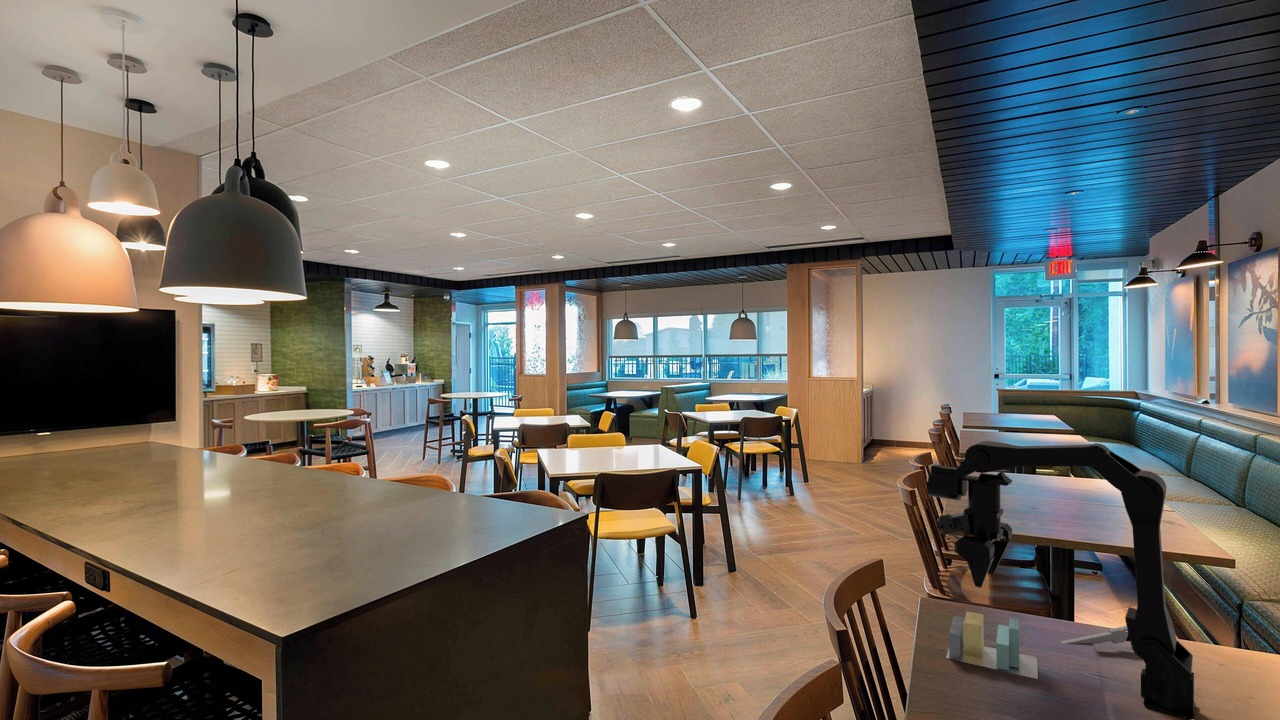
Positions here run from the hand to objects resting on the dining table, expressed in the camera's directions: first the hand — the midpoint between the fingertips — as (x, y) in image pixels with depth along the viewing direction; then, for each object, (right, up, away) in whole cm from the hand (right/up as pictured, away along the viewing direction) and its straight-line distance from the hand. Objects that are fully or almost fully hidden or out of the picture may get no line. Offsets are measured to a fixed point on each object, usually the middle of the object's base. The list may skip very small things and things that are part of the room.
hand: (984, 580), depth 124 cm
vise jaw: (+1, -13, -7) cm, 15 cm away
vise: (-2, -15, -5) cm, 16 cm away
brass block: (-4, -13, -3) cm, 14 cm away
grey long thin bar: (+23, -15, +1) cm, 27 cm away
